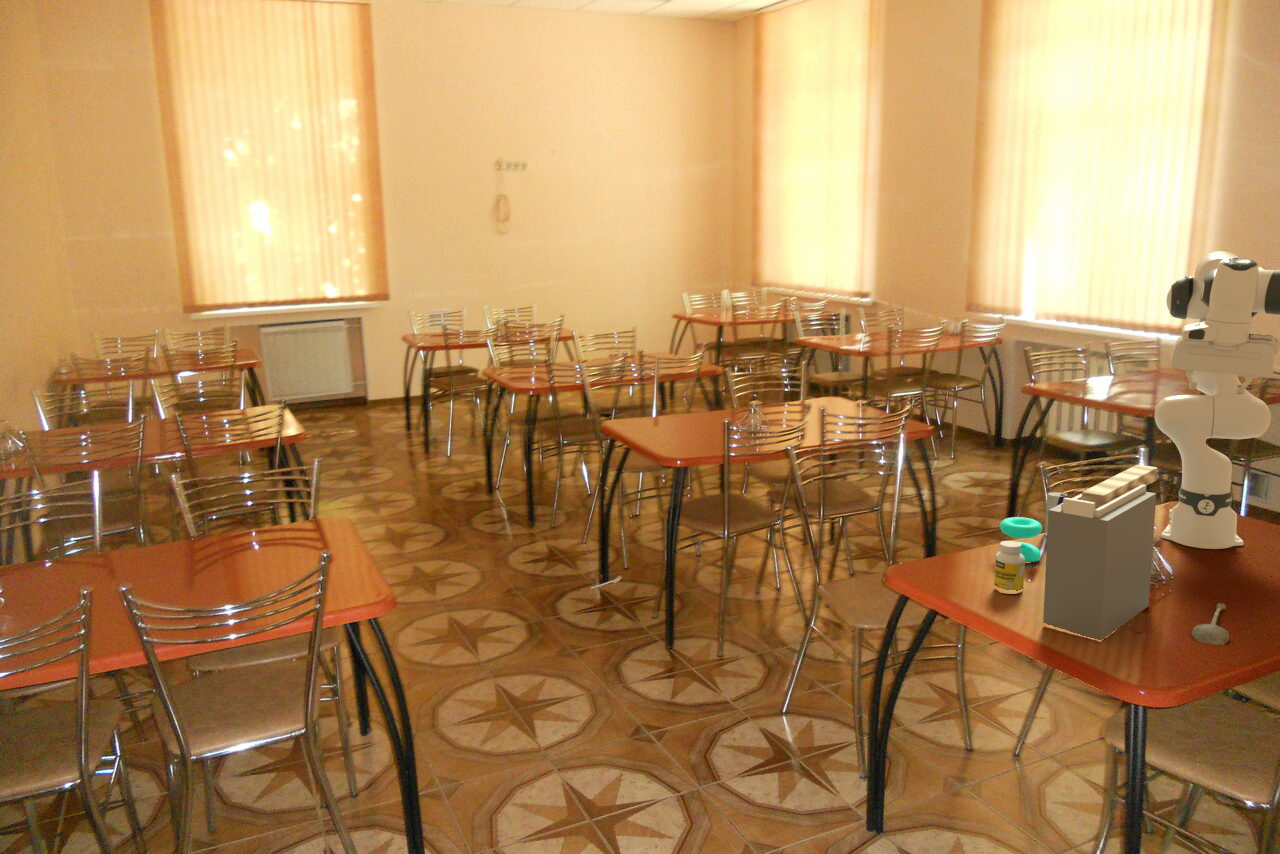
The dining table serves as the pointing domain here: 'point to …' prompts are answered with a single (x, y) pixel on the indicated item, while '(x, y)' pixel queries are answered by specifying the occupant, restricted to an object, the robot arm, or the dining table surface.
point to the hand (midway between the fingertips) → (1215, 391)
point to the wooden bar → (1120, 484)
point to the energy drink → (1053, 503)
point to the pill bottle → (1009, 566)
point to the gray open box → (1099, 562)
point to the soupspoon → (1211, 631)
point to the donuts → (1023, 535)
